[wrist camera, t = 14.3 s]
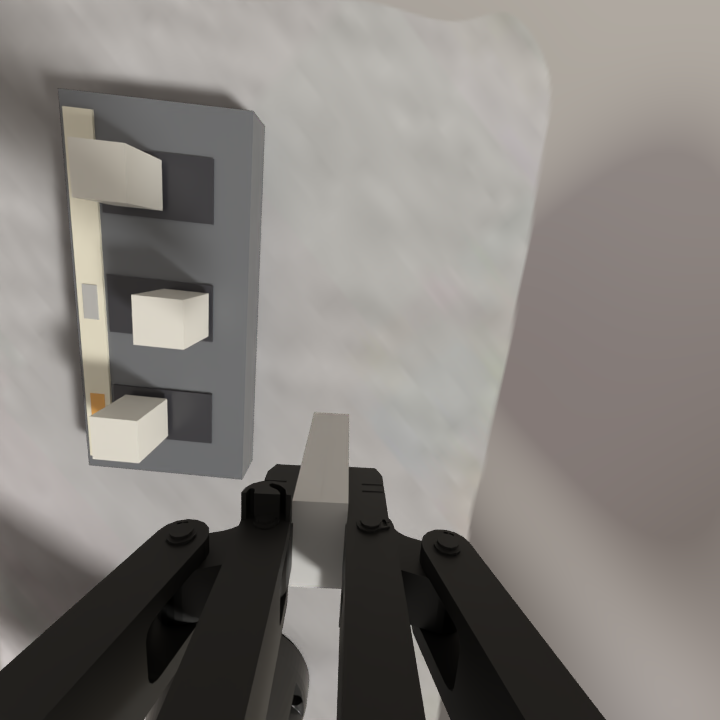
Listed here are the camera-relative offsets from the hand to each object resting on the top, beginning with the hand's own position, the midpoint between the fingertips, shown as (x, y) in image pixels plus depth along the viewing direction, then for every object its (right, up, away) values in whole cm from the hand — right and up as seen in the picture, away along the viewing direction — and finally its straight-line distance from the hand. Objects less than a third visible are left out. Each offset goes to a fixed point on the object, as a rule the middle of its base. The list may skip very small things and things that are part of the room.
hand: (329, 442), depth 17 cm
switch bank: (-13, +8, +14) cm, 20 cm away
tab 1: (-13, +15, +8) cm, 21 cm away
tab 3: (-11, +7, +10) cm, 16 cm away
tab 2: (-14, -1, +12) cm, 19 cm away
